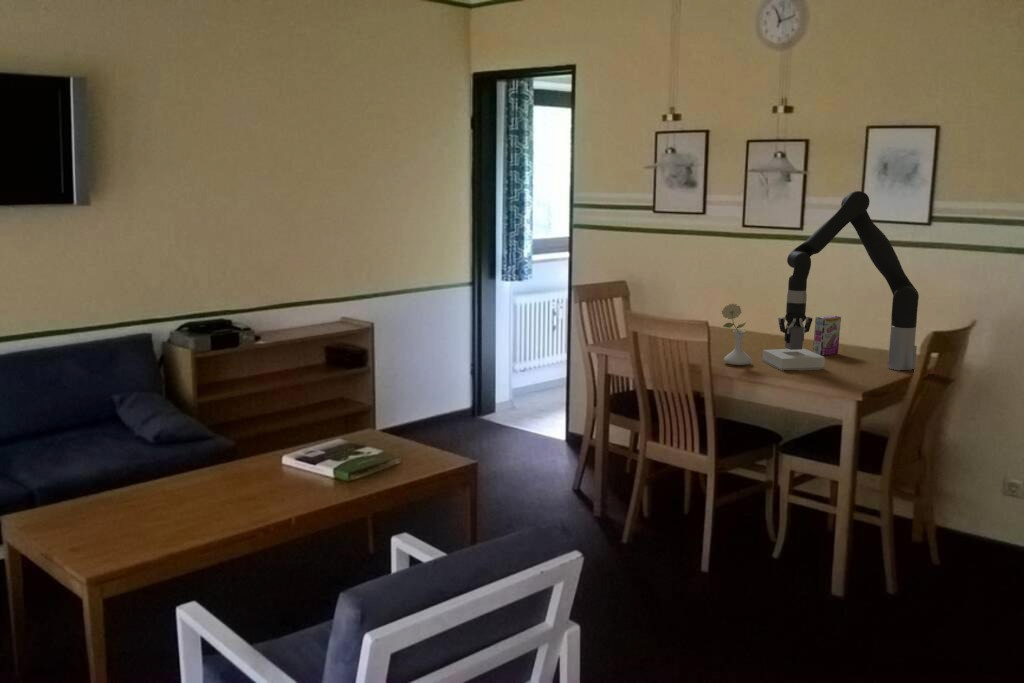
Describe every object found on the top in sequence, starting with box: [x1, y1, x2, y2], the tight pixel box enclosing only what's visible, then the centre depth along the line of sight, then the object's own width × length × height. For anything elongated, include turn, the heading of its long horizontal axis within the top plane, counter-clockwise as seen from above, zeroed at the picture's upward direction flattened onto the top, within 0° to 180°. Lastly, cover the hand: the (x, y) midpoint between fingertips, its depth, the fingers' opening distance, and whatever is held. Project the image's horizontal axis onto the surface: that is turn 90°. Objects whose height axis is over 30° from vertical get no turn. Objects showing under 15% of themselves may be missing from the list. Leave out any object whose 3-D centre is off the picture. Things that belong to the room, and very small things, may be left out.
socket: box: [762, 348, 826, 372], centre depth 380 cm, size 18×18×5 cm
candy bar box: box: [812, 314, 842, 357], centre depth 401 cm, size 11×5×16 cm, turn 123°
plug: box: [784, 326, 805, 350], centre depth 379 cm, size 5×5×9 cm
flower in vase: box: [721, 303, 753, 366], centre depth 381 cm, size 13×11×25 cm
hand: (793, 342), depth 379 cm, fingers closed on plug, 5 cm apart
